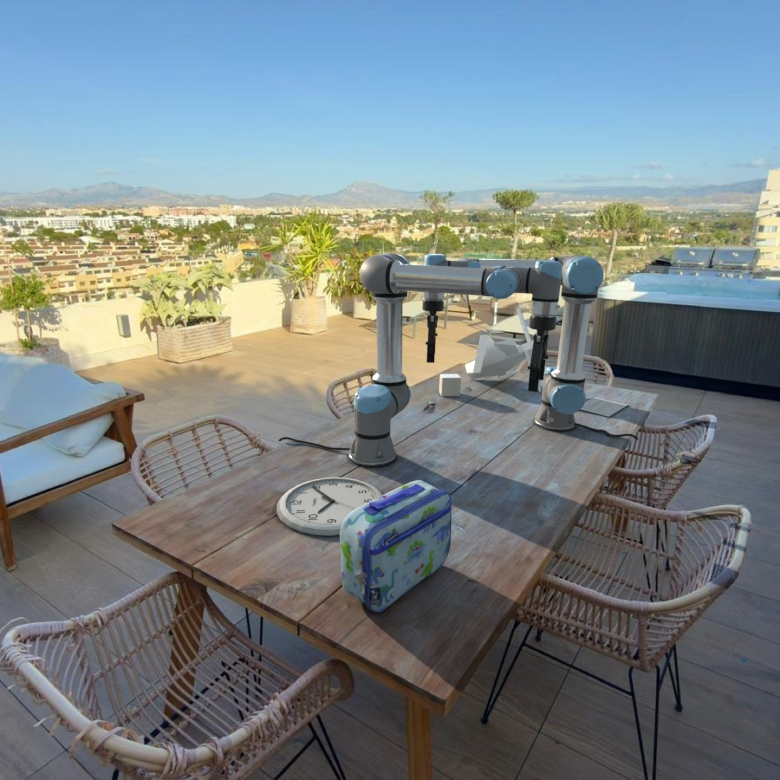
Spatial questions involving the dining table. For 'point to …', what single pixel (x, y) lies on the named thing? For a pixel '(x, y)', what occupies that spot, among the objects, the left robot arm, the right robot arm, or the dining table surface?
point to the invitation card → (602, 406)
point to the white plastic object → (500, 355)
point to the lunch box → (394, 543)
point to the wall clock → (323, 504)
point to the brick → (449, 385)
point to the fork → (430, 403)
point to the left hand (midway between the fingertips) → (535, 385)
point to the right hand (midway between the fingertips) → (430, 358)
